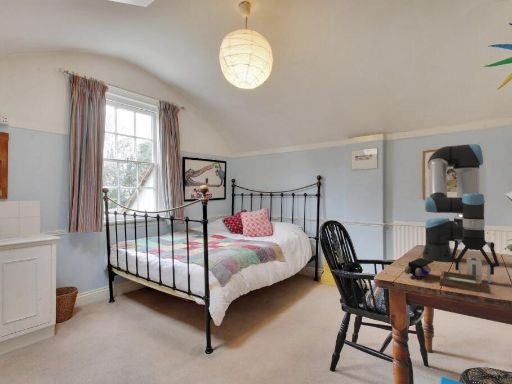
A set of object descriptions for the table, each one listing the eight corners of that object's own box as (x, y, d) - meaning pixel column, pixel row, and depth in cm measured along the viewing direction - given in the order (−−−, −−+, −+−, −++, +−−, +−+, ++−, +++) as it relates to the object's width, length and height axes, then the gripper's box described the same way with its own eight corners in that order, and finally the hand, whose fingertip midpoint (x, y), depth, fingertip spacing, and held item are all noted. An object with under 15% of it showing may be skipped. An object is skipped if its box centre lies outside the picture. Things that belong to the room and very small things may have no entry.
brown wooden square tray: (441, 277, 125) (441, 271, 125) (478, 283, 117) (478, 276, 117) (439, 285, 114) (439, 278, 114) (480, 292, 107) (480, 284, 107)
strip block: (466, 277, 124) (466, 256, 124) (481, 279, 121) (480, 258, 121) (466, 280, 120) (466, 258, 120) (481, 283, 117) (481, 260, 117)
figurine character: (420, 284, 120) (434, 274, 129) (419, 267, 119) (433, 258, 128) (404, 281, 125) (419, 271, 134) (403, 264, 125) (418, 256, 134)
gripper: (442, 227, 124) (443, 277, 124) (508, 231, 111) (509, 287, 111) (443, 226, 130) (444, 273, 130) (506, 229, 117) (507, 282, 117)
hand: (474, 279), depth 121 cm, fingers open, 9 cm apart
